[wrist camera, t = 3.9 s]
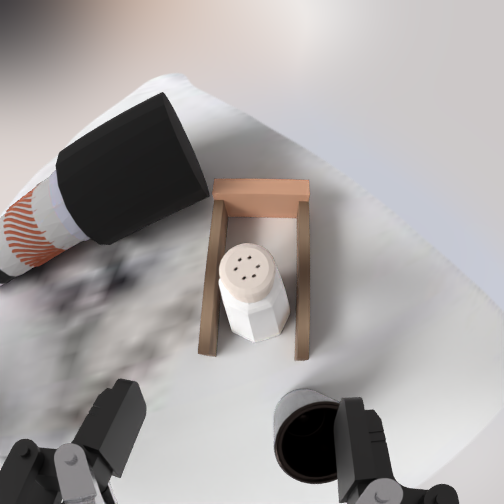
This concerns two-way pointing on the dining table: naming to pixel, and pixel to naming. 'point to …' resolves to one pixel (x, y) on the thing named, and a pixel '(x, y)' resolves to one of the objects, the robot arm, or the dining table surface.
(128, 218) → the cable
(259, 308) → the pepper shaker
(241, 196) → the guide channel
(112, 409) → the robot arm
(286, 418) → the planter
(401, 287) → the dining table surface
